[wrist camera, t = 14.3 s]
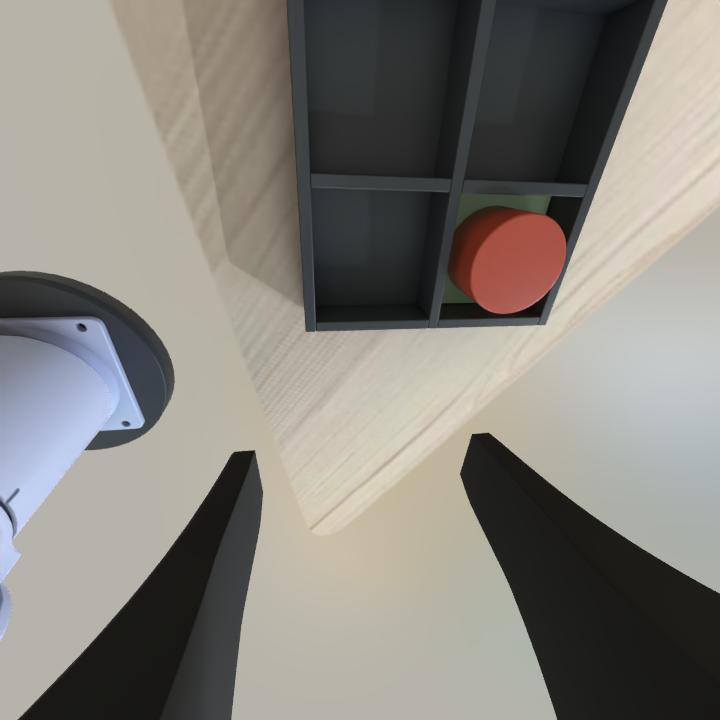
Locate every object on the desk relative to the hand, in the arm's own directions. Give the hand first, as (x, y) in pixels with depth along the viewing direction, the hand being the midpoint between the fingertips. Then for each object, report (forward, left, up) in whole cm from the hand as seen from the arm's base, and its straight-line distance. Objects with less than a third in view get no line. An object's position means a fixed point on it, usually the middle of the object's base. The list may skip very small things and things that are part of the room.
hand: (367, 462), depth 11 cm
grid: (+4, +8, -9) cm, 13 cm away
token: (+7, +5, -9) cm, 12 cm away
